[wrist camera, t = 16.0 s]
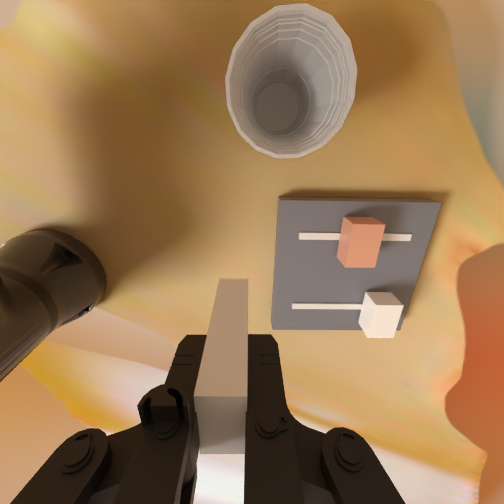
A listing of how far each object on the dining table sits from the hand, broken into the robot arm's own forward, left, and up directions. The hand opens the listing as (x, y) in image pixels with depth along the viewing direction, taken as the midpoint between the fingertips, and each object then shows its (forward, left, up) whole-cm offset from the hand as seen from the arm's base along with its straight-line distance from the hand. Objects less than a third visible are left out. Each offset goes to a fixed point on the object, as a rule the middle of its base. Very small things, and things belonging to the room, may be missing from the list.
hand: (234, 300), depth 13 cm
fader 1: (+16, -4, -21) cm, 27 cm away
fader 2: (+21, -16, -21) cm, 34 cm away
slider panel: (+16, -10, -24) cm, 31 cm away
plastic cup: (+4, +12, -25) cm, 28 cm away
